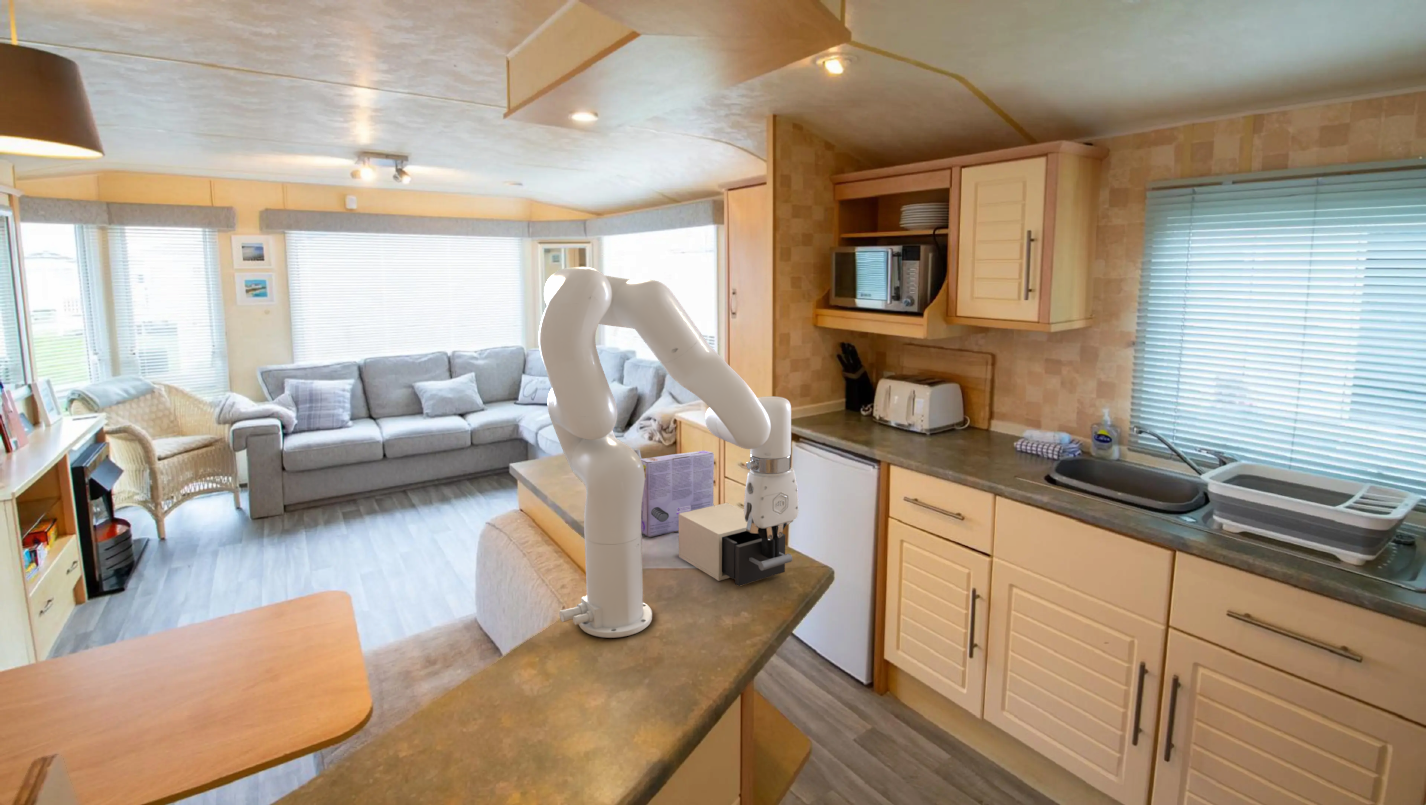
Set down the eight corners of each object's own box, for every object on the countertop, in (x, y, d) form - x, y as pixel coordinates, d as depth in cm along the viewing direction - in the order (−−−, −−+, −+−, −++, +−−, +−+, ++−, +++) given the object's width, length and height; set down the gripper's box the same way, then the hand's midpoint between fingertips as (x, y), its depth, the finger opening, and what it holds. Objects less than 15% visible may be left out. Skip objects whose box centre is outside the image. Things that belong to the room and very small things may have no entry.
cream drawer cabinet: (768, 565, 143) (769, 521, 141) (718, 580, 135) (718, 534, 134) (726, 543, 154) (727, 502, 153) (678, 556, 147) (678, 513, 146)
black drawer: (800, 580, 134) (801, 541, 132) (753, 595, 127) (754, 555, 126) (743, 550, 148) (743, 515, 147) (699, 562, 142) (698, 526, 140)
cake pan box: (707, 516, 172) (707, 447, 168) (718, 522, 167) (718, 451, 164) (637, 532, 161) (636, 458, 158) (648, 539, 157) (646, 463, 154)
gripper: (751, 475, 122) (751, 573, 125) (814, 461, 130) (813, 553, 134) (726, 465, 128) (727, 559, 131) (787, 453, 136) (787, 541, 140)
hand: (770, 556), depth 132 cm, fingers closed
